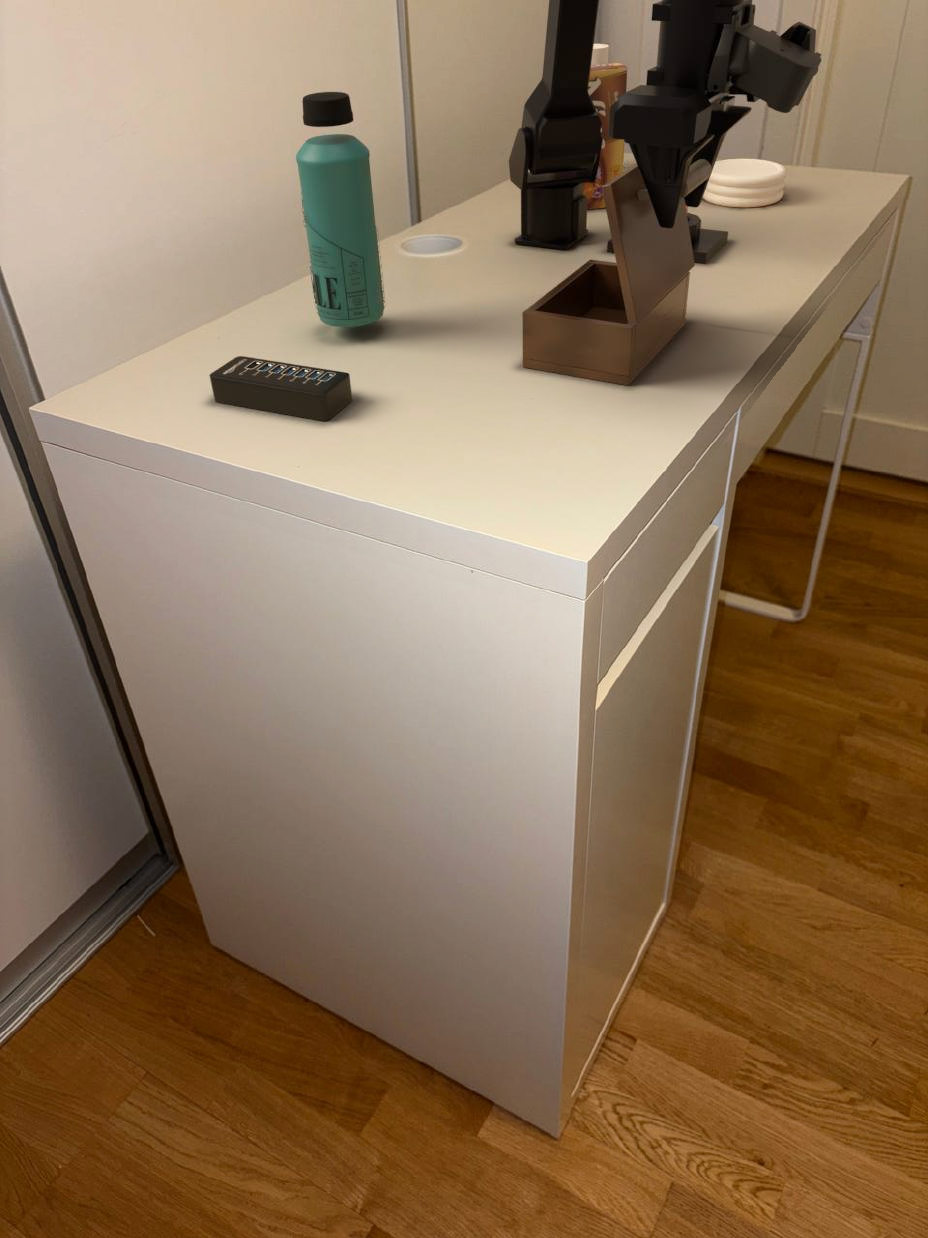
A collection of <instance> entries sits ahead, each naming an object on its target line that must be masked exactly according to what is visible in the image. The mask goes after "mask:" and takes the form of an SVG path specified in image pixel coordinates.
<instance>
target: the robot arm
mask: <svg viewBox="0 0 928 1238" xmlns="http://www.w3.org/2000/svg"><path fill="white" fill-rule="evenodd" d="M599 4H600V0H548V9H547V19H546V20H547V21H546V31H545V32H546V33H545V43H544V55H543V66H542V74H541V75H542V76H541V80H540V81H539V83H538V84H537V86H536V87H535V88H534V89H533V91H532V92H531V94H530V96H529V97H528V98H527V100H526V101H525V103H524V105H523V106H524V107H523V112H522V120H521V126H520V127H519V128H518V130H517V132H516V136H515V139H514V142H513V146H512V148H511V152H510V155H509V159H508V168H509V169H508V170H509V179H510V182H511V183H512V184H513V185H514V186H515V187H517V189H519V190H520V235H518V236H517V237H515V238H514V244H516V245H523V246H532V247H540V248H548V249H555V250H556V249H557V250H568V249H570V248H571V247H572V246H574V245H576V243H578V242H579V241H581V240H582V239H583V238H585V237H586V236H587V235H588V234H589V230H588V229H587V222H588V221H587V220H588V209H587V197H586V196H583V191H584V183H595V180H596V175H597V172H598V166H599V160H600V154H601V148H602V142H603V136H602V135H601V126H602V122H601V120H600V117H599V115H598V113H597V111H596V108H595V106H594V104H593V102H592V100H591V97H590V95H589V93H588V85H589V77H590V69H591V61H592V53H593V45H594V44H595V36H596V27H597V21H598V20H597V19H598V13H599ZM755 15H756V4H754V3H753V0H660V1H657V2H654V3H652V9H651V22H660V23H659V32H658V42H657V43H658V44H657V45H658V47H657V57H656V65H655V66H654V67H652V68H649V69H648V70H647V72H646V83H645V84H639V85H637V86H636V87H634V88H631V89H629V90H628V91H626V93H624V94H623V95H622V96H621V97H620V98H619V99H618V100H617V101H616V102H615V103H614V104H613V105H612V106H611V107H610V118H609V134H608V136H609V137H611V138H613V139H623V140H624V144H628V145H629V149H630V151H631V154H632V155H633V158H634V160H635V164H636V163H637V165H638V167H639V170H640V172H641V175H642V178H643V180H644V183H645V186H646V188H647V191H648V194H649V197H650V200H651V203H652V206H653V208H654V211H655V214H656V217H657V220H658V223H659V225H660V227H663V228H673V227H674V226H675V223H676V220H677V216H678V213H679V209H680V205H681V201H682V197H683V193H684V189H685V185H686V181H687V177H688V173H689V169H690V166H691V165H692V164H693V163H695V162H696V161H697V160H700V159H704V160H707V161H708V162H709V163H710V165H711V168H712V170H713V167H714V165H715V162H716V161H717V159H718V156H719V153H720V150H721V149H722V146H723V143H724V140H725V137H726V135H727V134H728V132H729V131H730V130H731V129H732V128H733V127H735V126H736V125H737V124H739V122H740V121H741V120H743V119H744V118H745V117H746V116H747V115H749V114H750V113H751V111H752V108H753V107H750V106H744V105H735V102H736V95H737V96H738V95H739V96H740V95H741V96H746V102H748V103H756V102H757V101H759V100H761V101H763V102H765V103H766V105H767V107H768V108H770V109H772V110H774V111H776V112H778V113H781V114H782V113H783V114H788V113H790V112H791V111H792V110H793V108H794V107H795V106H799V105H800V103H801V101H802V100H803V98H804V96H805V94H806V92H807V90H808V88H809V86H810V84H811V82H812V81H813V79H814V77H815V76H816V75H817V74H818V72H819V67H820V64H821V62H822V61H823V60H822V57H821V56H822V53H820V52H818V51H816V38H817V29H816V28H814V27H811V26H810V25H808V24H806V23H803V22H801V21H797V22H795V23H794V24H792V25H791V26H790V27H789V28H787V30H785V31H784V32H783V33H782V34H780V35H779V34H777V33H778V31H776V30H773V29H772V30H770V31H769V30H766V29H764V28H762V27H760V26H757V25H755ZM711 173H712V171H711ZM710 176H711V175H710ZM710 176H709V178H710ZM709 178H708V179H706V180H705V181H704V182H703V183H701V184H700V185H699V186H698V187H696V188H695V189H694V190H693V191H692V192H690V193H689V194H688V195H687V196H685V197H684V200H685V205H686V206H688V208H699V206H700V205H701V204H702V201H703V199H704V198H703V195H704V192H705V190H706V187H707V184H708V181H709Z"/></svg>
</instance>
